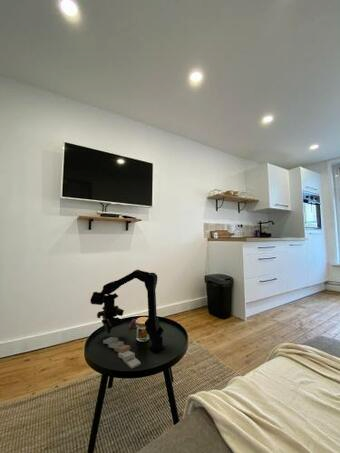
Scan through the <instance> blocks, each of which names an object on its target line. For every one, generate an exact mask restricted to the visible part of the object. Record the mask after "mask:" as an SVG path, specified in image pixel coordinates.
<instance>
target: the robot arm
mask: <svg viewBox="0 0 340 453" xmlns="http://www.w3.org/2000/svg"><path fill="white" fill-rule="evenodd" d="M134 279H137V280H139V281H141V282H143V283H144V287H145V289H146V293H147V294H146V295H147V312H148V313H147V314H148V317H147V318H146V320H145V321H144V322H145V325H144V328H145V329H144V331H145V332H146V334H147V335H148V337H149V340H150V346H148V347H147V348H148V350H150V351H152V353H155V354H157V353H159V352H161V351H163V350H165V347H164V346H163V343H164V342H163V341H164V338H163V336H162V335H163V334H164V329H163V328H162V327H161V325H160V320H159V318H158V315H157V300H156V298H157V296H156V294H157V292H156V288H157V284H158V275H157V274H156V273H155V272H149V271H146V270H145V271H144V270H140V269H135V270H133V271H132V272H130V273H129V274H126V275H125V276H123V277H121V278H119V279H117V280H113V281H110V282H108V283H106V284H104V285H103V287H102V289H101V291H100V292H98V291H93V292H92V295H91V297H90V304H91V305H97V306H102V305H103V306H102V310H101V311H98V312H97V314H96V318H98V319H101V317H102V320H101V323H102V325H103V327H104V329H105V331H106V333H107V334H108V335H109V334H110V333H111V331H112V329H113V328H114V327H117V326H121V325H122V324H123V319H121V318H120V317H123V315H124V312H125V310H124V309H122V308H119V305H115V303H116V302H115V301H116V299H117V298H119V295H118V294H117V293H116V292H115V291H117V290H118V289H119V288H121V286H123V285H125V284H127V283H129V282H130V281H133V280H134ZM114 292H115V293H114ZM118 316H120V317H118Z"/></svg>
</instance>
